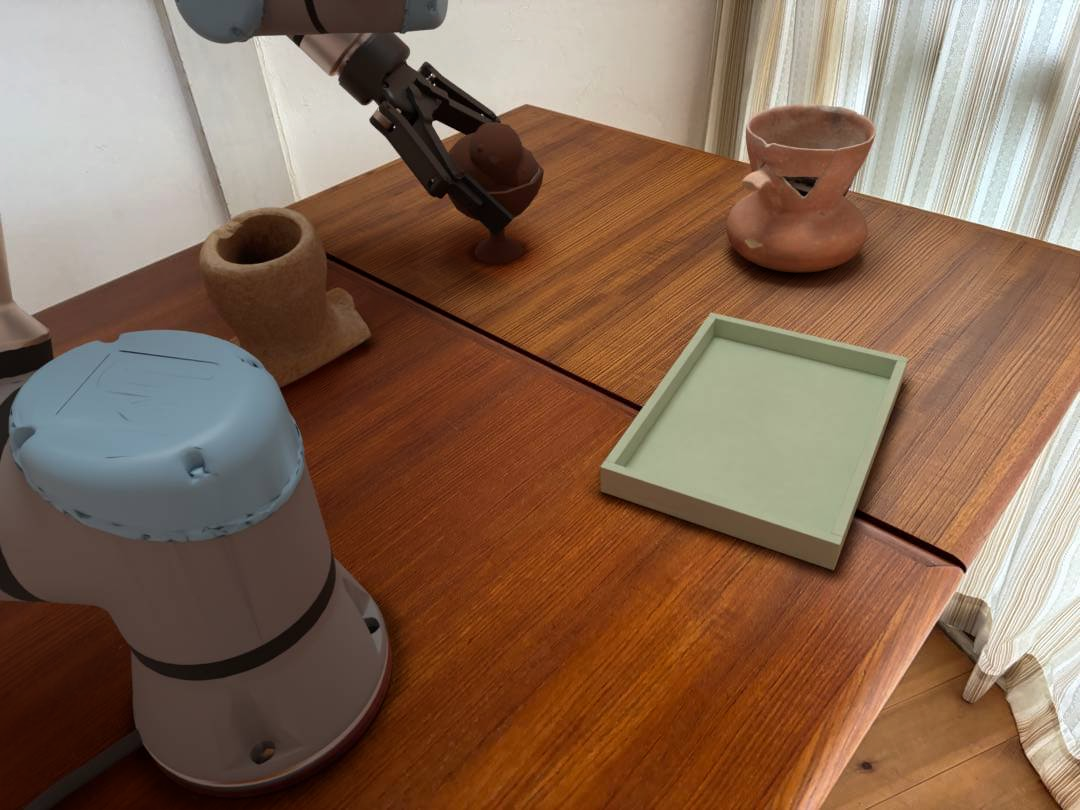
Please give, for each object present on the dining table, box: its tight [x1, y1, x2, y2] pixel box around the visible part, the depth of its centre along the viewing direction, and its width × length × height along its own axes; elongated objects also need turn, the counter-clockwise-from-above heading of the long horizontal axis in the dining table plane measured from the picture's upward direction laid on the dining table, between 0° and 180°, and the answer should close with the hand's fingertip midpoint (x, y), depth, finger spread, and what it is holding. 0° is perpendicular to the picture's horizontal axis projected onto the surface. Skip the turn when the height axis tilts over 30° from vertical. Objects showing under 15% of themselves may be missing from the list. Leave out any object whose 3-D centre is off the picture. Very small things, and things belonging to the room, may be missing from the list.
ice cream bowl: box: [446, 122, 545, 265], centre depth 91 cm, size 11×11×15 cm
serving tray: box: [599, 312, 909, 571], centre depth 68 cm, size 24×18×3 cm
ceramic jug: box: [725, 103, 877, 273], centre depth 88 cm, size 18×14×14 cm
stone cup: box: [198, 206, 372, 388], centre depth 76 cm, size 15×12×15 cm
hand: (518, 202), depth 91 cm, fingers closed on ice cream bowl, 11 cm apart
